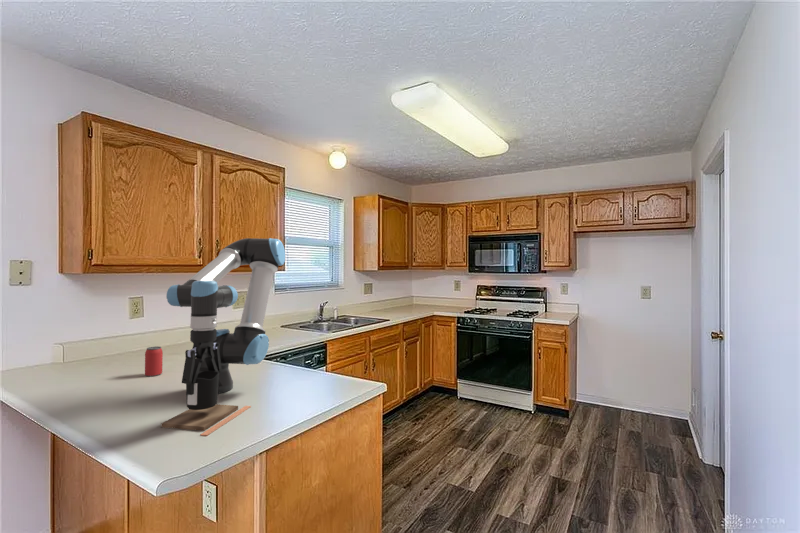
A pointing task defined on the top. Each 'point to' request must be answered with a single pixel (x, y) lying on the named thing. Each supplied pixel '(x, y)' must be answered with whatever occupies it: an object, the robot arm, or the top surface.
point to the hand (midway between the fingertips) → (202, 399)
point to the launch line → (224, 421)
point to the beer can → (153, 361)
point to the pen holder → (206, 390)
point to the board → (200, 418)
